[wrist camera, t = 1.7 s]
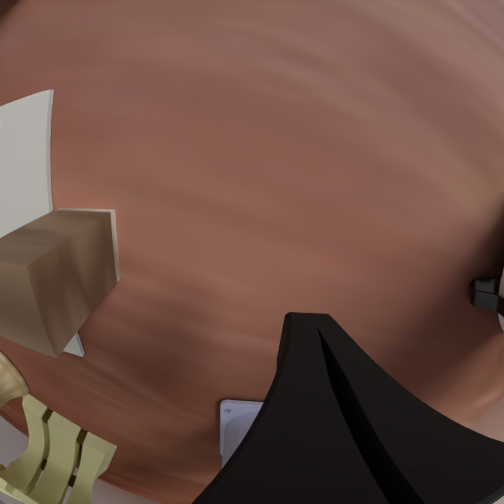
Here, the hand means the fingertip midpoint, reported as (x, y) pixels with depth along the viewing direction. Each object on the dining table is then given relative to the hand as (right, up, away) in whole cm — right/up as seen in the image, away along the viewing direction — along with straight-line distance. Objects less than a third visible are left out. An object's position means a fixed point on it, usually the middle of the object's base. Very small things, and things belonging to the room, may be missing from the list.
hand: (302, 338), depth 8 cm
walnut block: (-11, +3, +6) cm, 13 cm away
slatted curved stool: (-26, -23, +17) cm, 39 cm away
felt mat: (-18, +4, +5) cm, 20 cm away
